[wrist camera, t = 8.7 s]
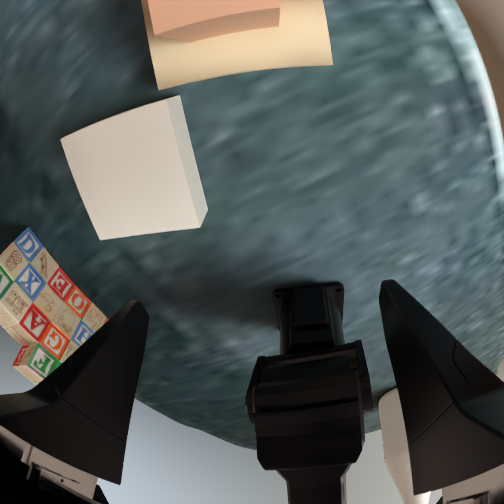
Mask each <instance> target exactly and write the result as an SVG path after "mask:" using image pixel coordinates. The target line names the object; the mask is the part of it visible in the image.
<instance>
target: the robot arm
mask: <svg viewBox="0 0 504 504" xmlns="http://www.w3.org/2000/svg"><path fill="white" fill-rule="evenodd" d="M337 288H340V289H337ZM277 294H280V295H277ZM273 300H274V305H275V310H276V315H277V320H278V325H279V330H280V355H275V356H267V357H265V356H259V357H258V358H257V362H256V364H255V367H254V370H253V374H252V377H251V381H250V384H249V387H248V391H247V394H246V402H245V408H246V409H247V410H248V415H249V418H250V421H251V423H252V424H253V426H255V431H256V439H257V458H258V460H259V462H260V464H261V465H262V467H263V468H264V469H265V470H276V471H277V472H278V473H279V474H280V475H281V476H282V477H283V478H284V479H285V481H286V483H287V491H288V503H289V504H347V503H346V472H347V471H348V469H349V467H350V466H351V464H352V463H355V462H356V461H357V459H358V457H359V455H360V453H361V451H362V446H363V444H364V442H365V433H364V419H363V414H368V413H372V409H373V408H372V393H371V385H370V378H369V373H368V368H367V363H366V359H365V355H364V350H363V346H362V342H361V340H356V341H355V342H352V343H347V344H345V341H344V335H343V329H342V319H343V302H344V287H343V284H341V283H334V284H325V285H316V286H306V287H295V288H285V289H276V290H274V291H273ZM379 304H380V310H381V315H382V321H383V327H384V334H385V340H386V344H387V348H388V352H389V356H390V360H391V364H392V368H393V372H394V376H395V381H396V385H397V389H398V394H399V399H400V404H401V409H402V414H403V419H404V425H405V430H406V436H407V443H408V450H409V458H410V466H411V474H412V484H413V494H414V496H415V495H419V494H423V493H427V492H430V491H434V490H437V489H441V488H442V495H443V496H442V497H441V498H440V499H439V501H438V502H437V503H436V504H504V382H503V381H502V380H501V379H500V378H498V377H497V376H496V375H495V374H494V373H493V372H492V371H490V370H489V369H488V368H487V367H486V366H485V365H484V364H482V363H481V362H480V361H479V360H478V359H477V358H476V357H475V356H473V355H472V354H471V353H470V352H469V351H468V350H467V349H466V348H465V347H464V346H463V345H462V344H461V343H460V342H459V341H458V340H456V338H455V337H454V336H453V335H452V334H451V333H450V332H449V331H448V330H447V329H446V328H445V327H444V326H443V325H442V324H441V323H440V322H439V321H438V320H437V319H436V318H435V317H434V316H433V315H432V314H431V313H430V312H429V311H428V310H427V309H426V308H424V307H423V306H422V305H421V304H420V303H419V302H418V301H417V300H416V299H415V298H414V297H413V296H411V295H410V294H409V293H408V292H407V291H406V290H405V289H404V288H403V287H402V286H400V285H399V284H398V283H397V282H396V281H395V280H393V279H390V280H383V281H382V283H381V289H380V295H379ZM148 324H149V315H148V313H147V311H146V310H145V308H144V306H143V305H142V303H141V302H140V301H129V302H128V303H127V304H126V305H125V306H124V307H123V308H121V309H120V310H119V311H118V312H117V313H116V314H115V315H114V316H113V317H111V318H110V319H109V320H108V321H107V322H106V323H105V324H104V325H103V326H101V327H100V328H99V329H98V330H97V331H96V332H95V333H94V334H93V335H92V336H91V337H90V338H88V339H87V340H86V341H85V342H84V343H83V344H82V345H81V346H80V347H79V348H78V349H77V350H76V351H75V352H73V353H72V355H70V356H69V357H68V358H67V359H66V360H65V361H64V362H63V363H62V364H61V365H60V366H59V367H57V368H56V369H55V370H54V371H53V372H52V373H50V374H49V375H48V376H47V377H46V378H44V379H43V380H42V381H41V382H40V383H38V384H37V385H36V386H35V387H34V388H33V389H31V390H29V391H27V392H24V393H15V394H4V395H0V504H109V503H108V501H107V499H106V497H105V496H104V494H103V492H102V490H101V488H100V486H99V485H97V484H96V483H97V479H98V477H99V478H101V479H104V480H107V481H109V482H112V483H115V484H118V485H120V484H121V478H122V470H123V462H124V455H125V449H126V441H127V435H128V429H129V424H130V418H131V413H132V407H133V402H134V397H135V392H136V388H137V383H138V378H139V374H140V369H141V365H142V361H143V356H144V351H145V344H146V337H147V330H148Z"/></svg>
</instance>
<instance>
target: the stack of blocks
mask: <svg viewBox="0 0 504 504" xmlns="http://www.w3.org/2000/svg"><path fill="white" fill-rule="evenodd" d="M108 320H109V319H108V318H107V317H106V316H105V315H104V314H103V313H102V312H101V311H100V310H99V309H98V308H97V307H96V306H95V305H94V304H93V303H92V302H91V301H90V300H89V299H88V298H87V297H86V296H85V295H84V294H83V293H82V292H81V291H80V289H79V288H78V287H77V286H76V285H75V284H74V283H73V282H72V281H71V280H70V278H69V277H68V276H67V275H66V274H65V273H64V271H63V270H62V269H61V268H60V267H59V265H58V264H57V263H56V262H55V260H54V259H53V258H52V257H51V255H50V254H49V253H48V251H47V250H46V249H45V248H44V247H43V245H42V243H41V242H40V241H39V239H38V238H37V237H36V235H35V234H34V233H33V231H32V230H31V229H30V227H27V228H26V229H25V230H24V231H23V232H22V233H21V234H20V235H19V236H18V237H17V238H16V239H15V240H14V241H13V242H12V243H11V244H10V245H9V246H8V247H7V248H6V249H5V250H4V252H3V253H2V254H1V255H0V325H1V326H2V327H3V328H4V329H5V330H6V331H7V332H8V333H9V334H10V335H11V336H12V337H13V338H14V339H15V340H16V341H17V342H18V343H19V344H21V345H22V346H23V347H22V348H21V350H20V352H19V354H18V356H17V357H16V359H15V361H14V363H13V367H14V368H16V370H18V371H19V372H20V373H21V374H22V375H24V376H25V377H26V378H27V379H29V380H30V381H31V382H32V383H33V384H35V385H37V384H38V383H40V382H41V381H42V380H43V379H44V378H46V377H47V376H48V375H49V374H50V373H52V372H53V371H54V370H55V369H56V368H57V367H59V366H60V365H61V364H62V363H63V362H64V361H65V360H66V359H67V358H68V357H69V356H70V355H72V353H73V352H75V351H76V350H77V349H78V348H79V347H80V346H81V345H82V344H83V343H84V342H85V341H86V340H87V339H88V338H90V337H91V336H92V335H93V334H94V333H95V332H96V331H97V330H98V329H99V328H100V327H101V326H103V325H104V324H105V323H106V322H107V321H108Z"/></svg>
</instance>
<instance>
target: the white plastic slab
mask: <svg viewBox="0 0 504 504" xmlns="http://www.w3.org/2000/svg"><path fill="white" fill-rule="evenodd" d="M60 140H61V143H62V146H63V149H64V152H65V155H66V158H67V161H68V164H69V167H70V169H71V172H72V175H73V177H74V180H75V183H76V185H77V188H78V190H79V193H80V195H81V198H82V200H83V203H84V205H85V207H86V210H87V212H88V214H89V217H90V219H91V221H92V223H93V226H94V228H95V230H96V232H97V234H98V237H99V239H100V240H105V239H112V238H119V237H127V236H134V235H142V234H150V233H158V232H166V231H175V230H183V229H192V228H200V227H201V224H202V222H203V220H204V218H205V215H206V213H207V211H208V208H207V204H206V200H205V196H204V193H203V189H202V185H201V181H200V177H199V173H198V169H197V165H196V161H195V157H194V153H193V149H192V145H191V141H190V137H189V133H188V128H187V124H186V120H185V116H184V111H183V107H182V103H181V98H180V95H178V96H174V97H170V98H167V99H163V100H160V101H156V102H153V103H150V104H146V105H143V106H140V107H137V108H134V109H131V110H128V111H125V112H122V113H120V114H117V115H114V116H112V117H109V118H106V119H104V120H101V121H99V122H96V123H94V124H91V125H89V126H87V127H84V128H82V129H80V130H78V131H75V132H73V133H71V134H69V135H67V136H65V137H63V138H61V139H60Z"/></svg>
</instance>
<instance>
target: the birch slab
mask: <svg viewBox="0 0 504 504" xmlns="http://www.w3.org/2000/svg"><path fill="white" fill-rule="evenodd" d="M141 2H142V8H143V14H144V20H145V25H146V31H147V36H148V42H149V47H150V52H151V57H152V62H153V67H154V72H155V77H156V81H157V86H158V90H163V89H167V88H172V87H176V86H179V85H183V84H187V83H192V82H196V81H201V80H205V79H210V78H215V77H220V76H226V75H231V74H238V73H244V72H251V71H258V70H267V69H276V68H288V67H302V66H326V65H333V63H332V55H331V47H330V41H329V34H328V28H327V22H326V16H325V10H324V5H323V0H279V3H280V19H279V27H270V28H262V29H255V30H248V31H242V32H236V33H231V34H225V35H221V36H216V37H211V38H207V39H203V40H199V41H195V42H191V43H187V42H183V41H179V40H175V39H170V38H166V37H161V36H156V35H154V31H153V26H152V21H151V16H150V10H149V5H148V0H141Z"/></svg>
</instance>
